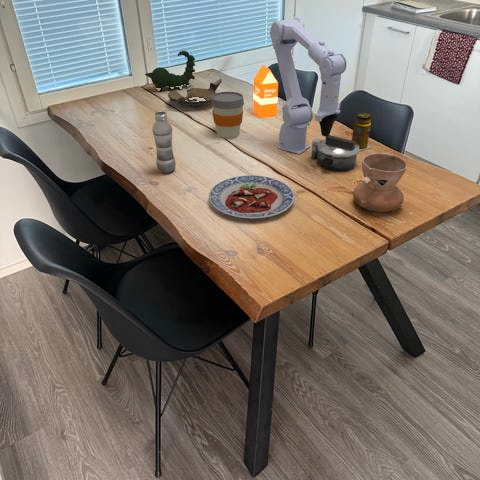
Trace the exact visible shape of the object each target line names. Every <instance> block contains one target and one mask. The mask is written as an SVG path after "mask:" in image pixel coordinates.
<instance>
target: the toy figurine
mask: <svg viewBox="0 0 480 480" xmlns="http://www.w3.org/2000/svg"><path fill="white" fill-rule="evenodd" d="M180 56H184V57H185V58H186V63H185V64H186V65H185V68H184V72H183V74H181V75H180V74H177V75H176V74H175V73H172V72H169V70H168V69H166V68H164V67H161V66H159V67H156V68H154V69H153V70H152V71H151V72H148V73H146V72H145V73H144V76H146V77H147V78H149V79H150V80H151V82H152V84H153V85H154V86H155V87H156V88H162V89H163V88H165V87H167V86H169V87H174V86H181V85H183V86H186V85H189V84H190V85H191V83H190V80H195V77H196V76H195V75H193V73H196V69H194V67H196V63H195V60H196V58H195V57H194V56H193V55H192V54H189V51H188V50H180V51H179V52H178V54H177V57H180ZM184 84H186V85H184ZM169 87H168V88H169ZM156 88H155V89H156Z"/></svg>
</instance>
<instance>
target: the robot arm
mask: <svg viewBox="0 0 480 480" xmlns="http://www.w3.org/2000/svg"><path fill="white" fill-rule="evenodd" d="M270 26H271V27H270V30H269V36H270V39H271V44H272V49H273V50H274V53H275V57H276V61H277V65H278V69H279V73H280V77H281V82H282V85H283V90H284V94H285V97H286V101H285V103H284V104H283V105H282V107H281V111H282V122H283V123H282V124H281V126H280V128H279V135H278V136H279V138H278V140H279V141H278V146H277V149H279V150H284V151H287V152H290V153H293V154H298V155H301V154H302V153H303V152H305V151H307V150H308V149H309V148H310V147H311V146H310V145H309V144H306V143H307V133H308V126H310V122H312V121H313V118H314V121H316V122H318V123H319V126H320V127H319V128H320V131H321V137H325V138H326V137H328V136H329V135H330V134H331V131H332V128H333V126H334V124H335V121H336V120H337V119H338V116H339V114H340V113H341V110H340V109H341V103H340V102H339V96H340V90H341V88H340V87H341V81H342V74H344V73H345V72H346V69H347V60H346V57H345V56H344V55H343V54H342V53H336V52H334V51H333V49H331V48H330V47H328V46H327V45H326V42H325V41H323V40H317V41H316V39H314V37H313V36H312V35H311V34H310V33H309V32H308V30H307V29H306V28H305V24H304V22H303V21H302V20H301V19H300V18H298V17H296V18H295V17H294V18H290V19H283V20H274V21H273V22H272V24H271V25H270ZM298 43H299V44H300V45H301V46H302V47H303V48H305V49H306V50H307V54H308V55H307V56H309V58H310V59H311V60H312V61H313V62H314V63H315V64H316V65H317V66H318V69H319V72H320V80H321V88H320V97H319V98H320V100H319V106H318V109H317V112H316V113H315V114H314V111H313V108H312V106H311V105H310V102H309V100H308V99H307V98H305V97H303V95H302V93H301V87H300V84H299V80H298V76H297V69H296V66H295V63H294V58H293V53H292V49H293V48H294V47H296V45H297V44H298Z"/></svg>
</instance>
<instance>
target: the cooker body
mask: <svg viewBox="0 0 480 480" xmlns="http://www.w3.org/2000/svg"><path fill="white" fill-rule="evenodd" d="M317 148H318V146H317V145H313V144H312V143H311V154H310V155H311V156H310V158H311V159H313V160H317V165H318V166H319V167H320V168H321V169H323V170H325V171H329V172H334V173H335V172H336V173H345V172H349V171H352V170H353V169H355V167H356V162H357V157H358V156H357V155H358V154H357V155H355V156H353V157H348V158H335V157H330V156H326V155H324V154H322V153H320V152H319V151H318V149H317Z"/></svg>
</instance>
